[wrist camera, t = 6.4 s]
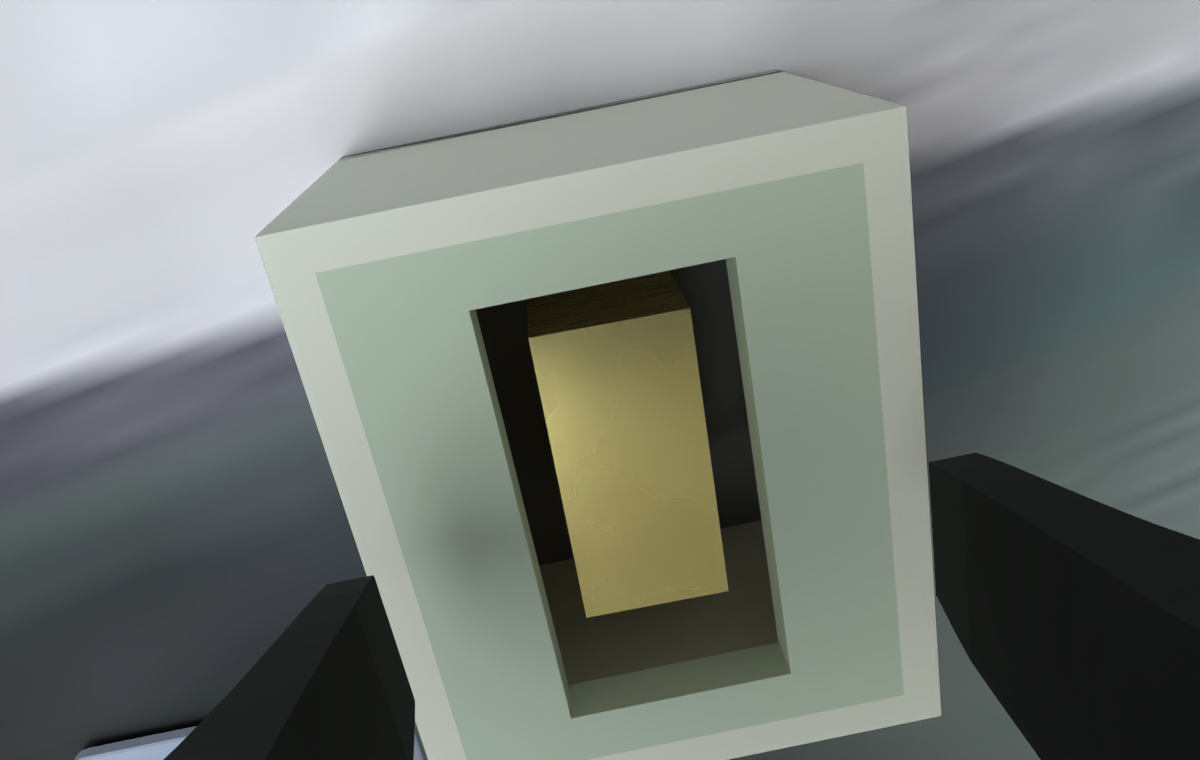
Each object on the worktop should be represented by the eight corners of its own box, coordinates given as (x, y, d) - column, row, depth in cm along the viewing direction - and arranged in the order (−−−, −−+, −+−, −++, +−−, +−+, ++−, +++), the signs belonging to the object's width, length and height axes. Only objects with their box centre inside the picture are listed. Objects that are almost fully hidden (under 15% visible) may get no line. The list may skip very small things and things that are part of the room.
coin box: (824, 518, 22) (941, 715, 16) (466, 590, 22) (447, 817, 16) (776, 69, 18) (906, 106, 12) (342, 156, 18) (254, 237, 12)
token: (680, 455, 20) (729, 591, 16) (570, 477, 20) (586, 617, 16) (646, 230, 18) (690, 308, 14) (525, 252, 18) (528, 338, 14)
